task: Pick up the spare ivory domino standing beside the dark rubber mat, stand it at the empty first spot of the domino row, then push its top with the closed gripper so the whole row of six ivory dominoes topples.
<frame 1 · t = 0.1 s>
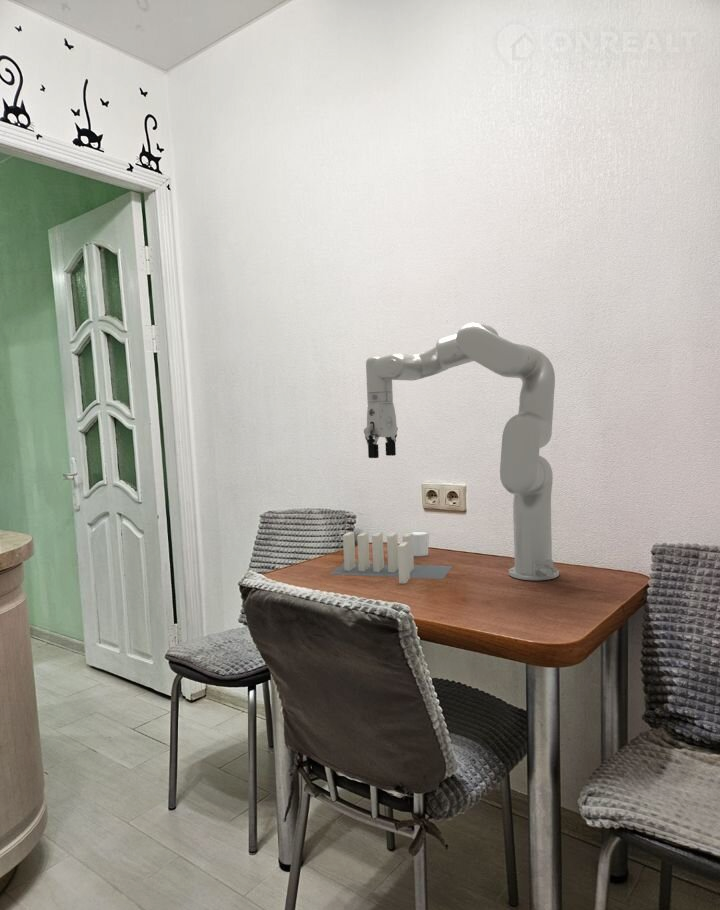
hand: (382, 456, 192), 31 cm above the table, tool pointing down, fingers open, 9 cm apart
mat: (391, 571, 180), on the table
domino 4: (378, 569, 181), resting on mat
domino 1: (404, 582, 168), on the table
domino 2: (408, 570, 178), resting on mat
domino 6: (350, 568, 184), resting on mat
white cup: (418, 556, 199), on the table
domino 5: (364, 569, 183), resting on mat
domino 3: (393, 570, 180), resting on mat
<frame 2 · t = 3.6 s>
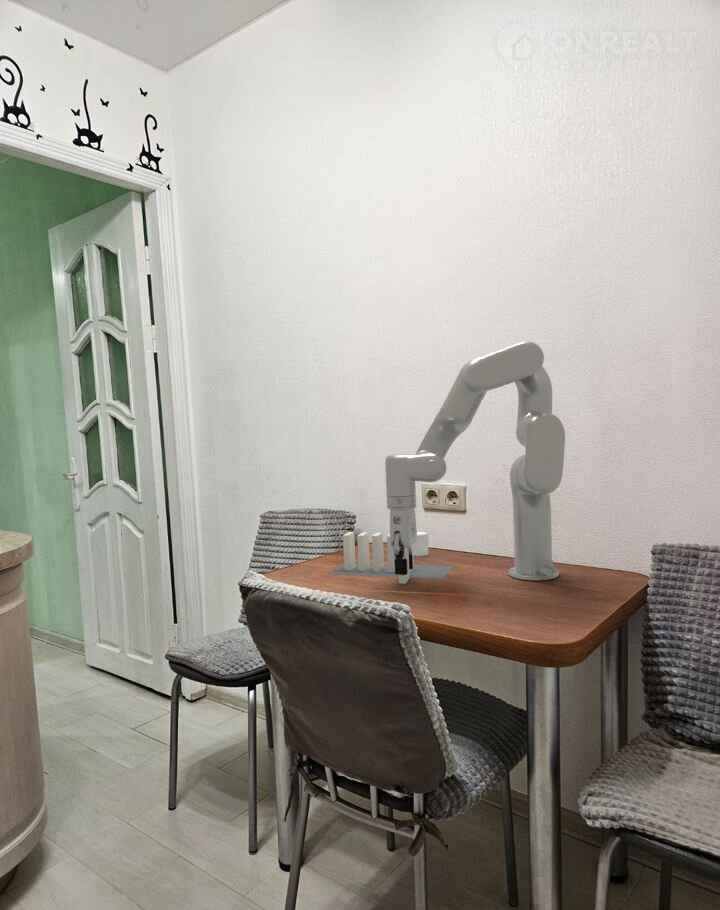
hand: (404, 571, 168), 3 cm above the table, tool pointing down, fingers closed on domino 1, 4 cm apart
domino 1: (404, 582, 168), on the table, touching gripper
everything else where it was.
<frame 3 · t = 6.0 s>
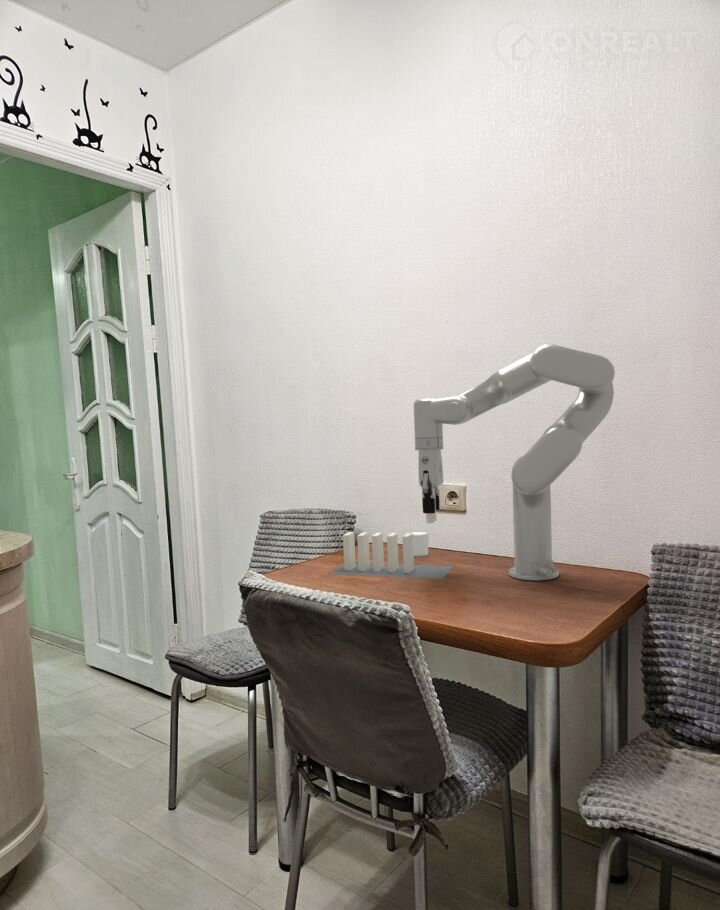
hand: (431, 510, 175), 17 cm above the table, tool pointing down, fingers closed on domino 1, 4 cm apart
domino 1: (431, 521, 175), point 14 cm above the table, touching gripper
everything else where it was.
when the fingers open (4 cm above the table, at t = 8.7 s): domino 1 stays where it is, resting on mat.
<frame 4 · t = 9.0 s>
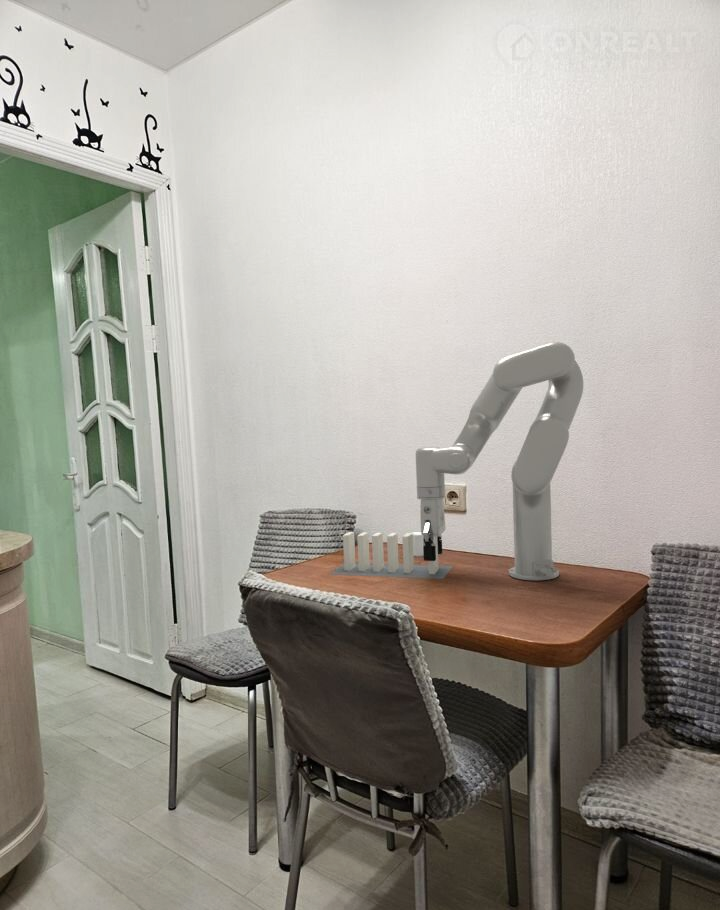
hand: (433, 556, 176), 5 cm above the table, tool pointing down, fingers open, 7 cm apart
domino 1: (433, 571, 176), resting on mat
everything else where it was.
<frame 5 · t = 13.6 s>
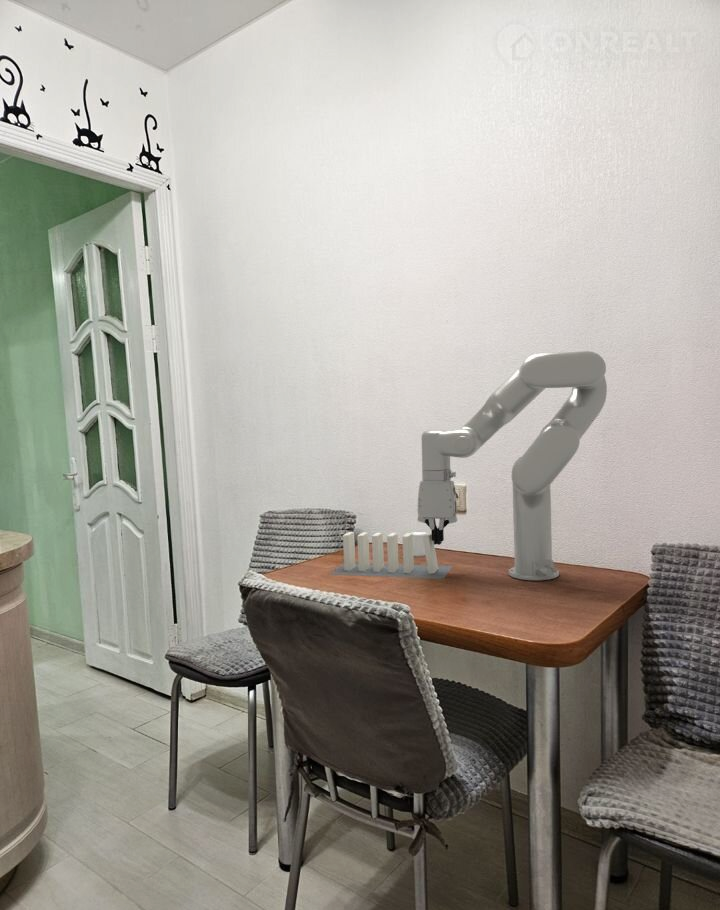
hand: (437, 543, 175), 8 cm above the table, tool pointing down, fingers closed
domino 1: (433, 571, 176), point 1 cm above the table, tilted 8°, touching gripper, mat
everything else where it was.
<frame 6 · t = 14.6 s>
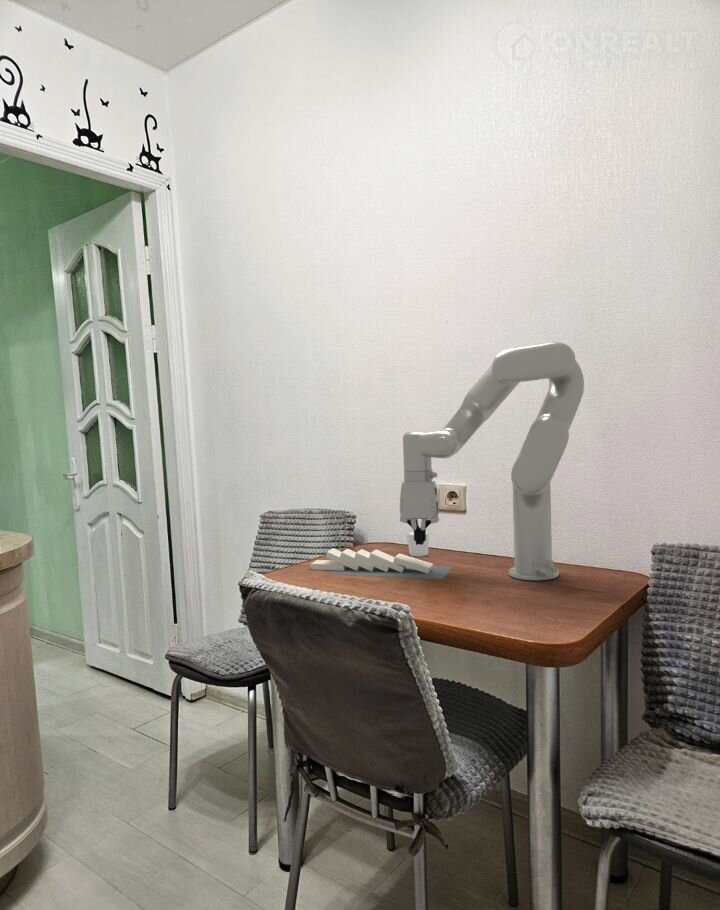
hand: (420, 543, 177), 8 cm above the table, tool pointing down, fingers closed
domino 4: (375, 566, 181), point 1 cm above the table, tilted 68°, touching domino 3, domino 5, mat
domino 1: (430, 568, 176), point 1 cm above the table, tilted 74°, touching domino 2, mat
domino 2: (404, 567, 179), point 1 cm above the table, tilted 68°, touching domino 1, domino 3
domino 6: (346, 565, 184), point 1 cm above the table, tilted 90°, touching domino 5, mat
domino 5: (360, 566, 183), point 1 cm above the table, tilted 68°, touching domino 4, domino 6
domino 3: (390, 567, 180), point 1 cm above the table, tilted 68°, touching domino 2, domino 4, mat
everything else where it was.
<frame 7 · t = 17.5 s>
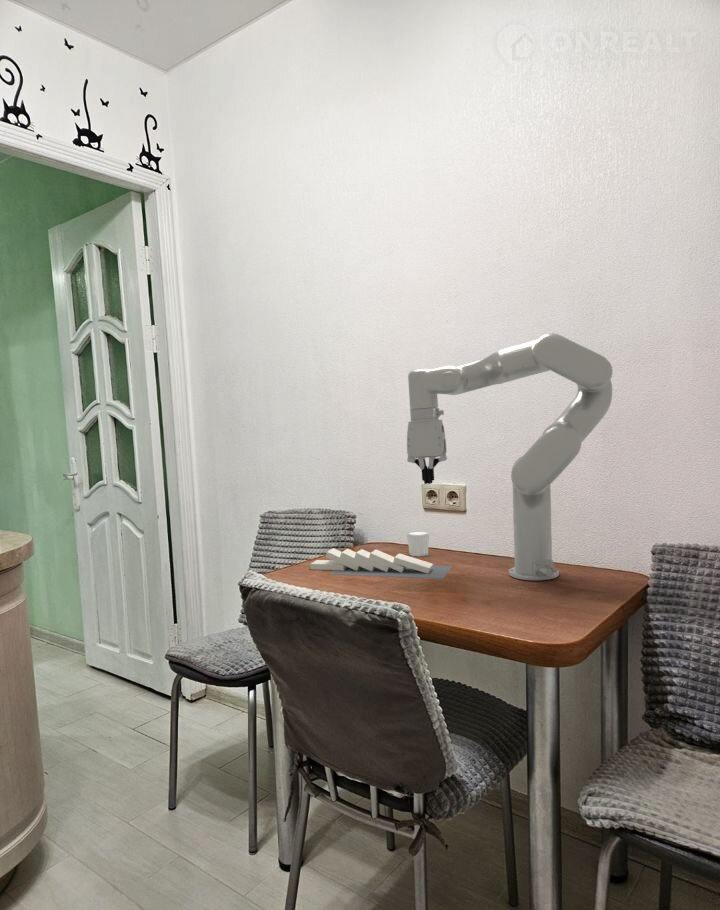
hand: (428, 483, 175), 25 cm above the table, tool pointing down, fingers closed
nothing on the table moved.
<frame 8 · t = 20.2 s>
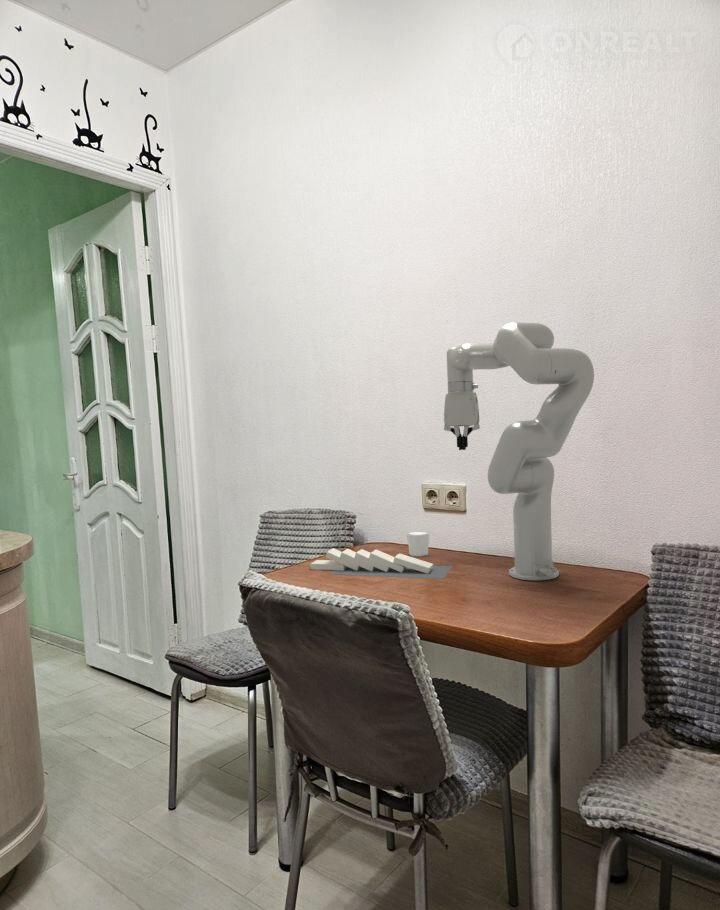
hand: (462, 449, 195), 32 cm above the table, tool pointing down, fingers closed
nothing on the table moved.
at the end: domino 6 tilted 90°; domino 1 tilted 74°; domino 1 7.2 cm from the domino 2 (horizontally) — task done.
